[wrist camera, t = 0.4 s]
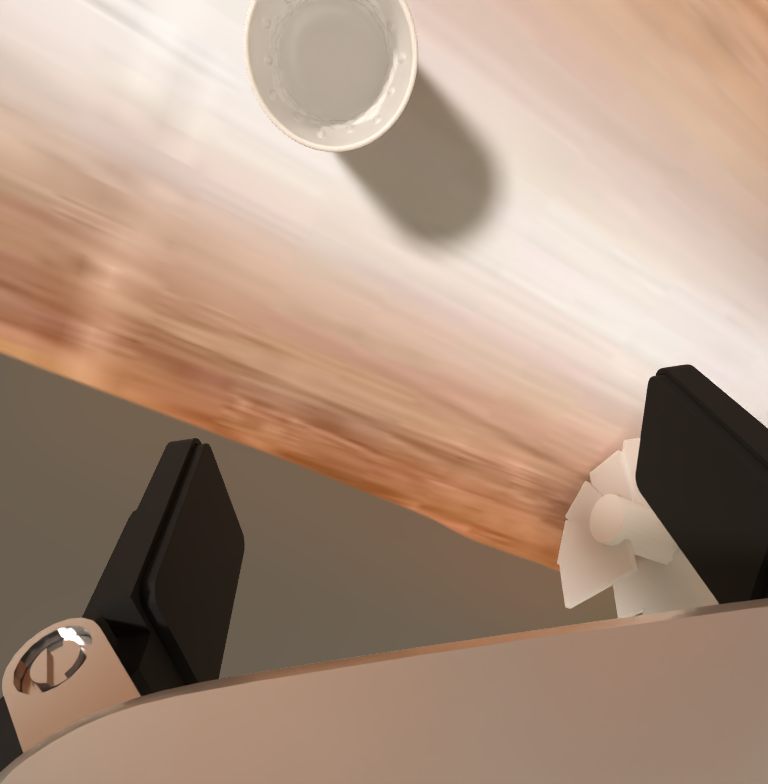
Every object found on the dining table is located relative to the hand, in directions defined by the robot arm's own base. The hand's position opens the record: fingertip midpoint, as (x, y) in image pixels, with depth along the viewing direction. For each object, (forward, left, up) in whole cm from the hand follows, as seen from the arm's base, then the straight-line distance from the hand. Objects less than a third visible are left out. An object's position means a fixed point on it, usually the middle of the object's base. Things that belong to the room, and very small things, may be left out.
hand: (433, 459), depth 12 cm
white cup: (-8, -2, -30) cm, 31 cm away
